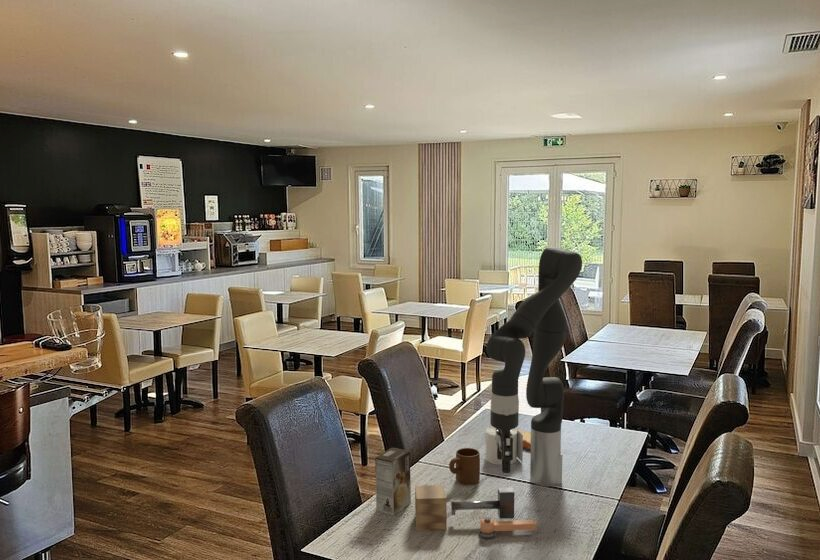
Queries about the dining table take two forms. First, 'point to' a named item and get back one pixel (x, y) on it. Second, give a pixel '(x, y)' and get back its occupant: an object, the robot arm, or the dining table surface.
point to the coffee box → (393, 481)
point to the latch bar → (506, 525)
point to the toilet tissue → (517, 452)
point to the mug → (466, 466)
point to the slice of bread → (526, 439)
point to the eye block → (430, 508)
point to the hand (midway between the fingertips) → (503, 465)
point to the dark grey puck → (487, 535)
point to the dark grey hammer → (491, 504)
